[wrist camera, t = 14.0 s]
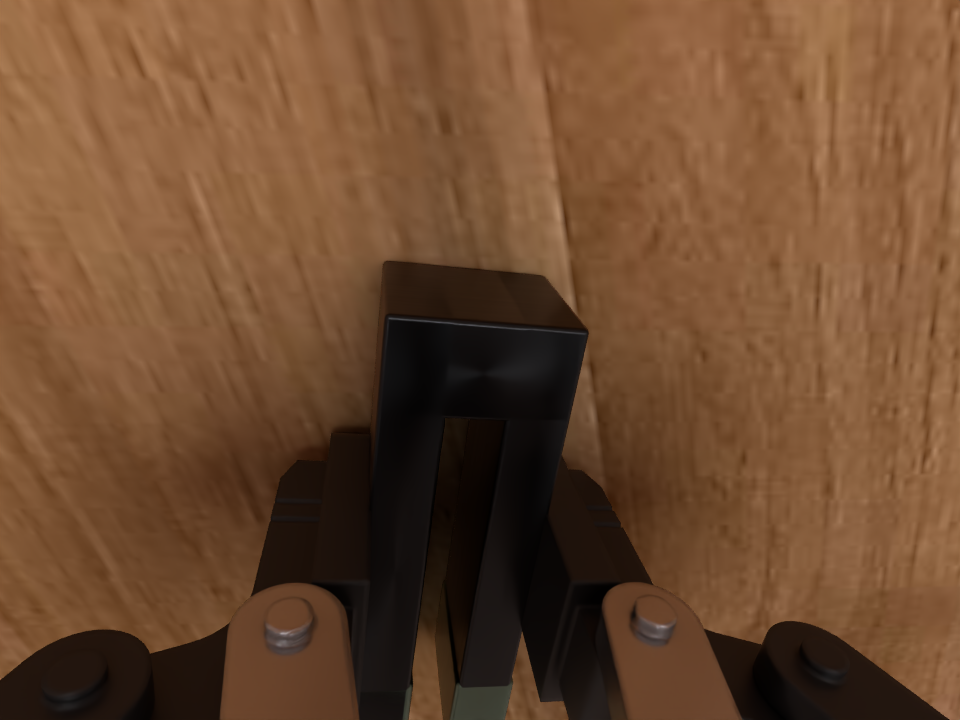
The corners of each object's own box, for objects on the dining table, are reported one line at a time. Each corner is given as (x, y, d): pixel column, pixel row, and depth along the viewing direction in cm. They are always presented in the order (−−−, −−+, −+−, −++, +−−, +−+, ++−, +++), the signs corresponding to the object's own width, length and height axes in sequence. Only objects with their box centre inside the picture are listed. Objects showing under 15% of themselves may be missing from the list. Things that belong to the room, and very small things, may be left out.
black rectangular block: (480, 635, 13) (500, 745, 11) (351, 638, 13) (346, 754, 11) (548, 275, 10) (595, 330, 8) (380, 259, 9) (380, 314, 7)
